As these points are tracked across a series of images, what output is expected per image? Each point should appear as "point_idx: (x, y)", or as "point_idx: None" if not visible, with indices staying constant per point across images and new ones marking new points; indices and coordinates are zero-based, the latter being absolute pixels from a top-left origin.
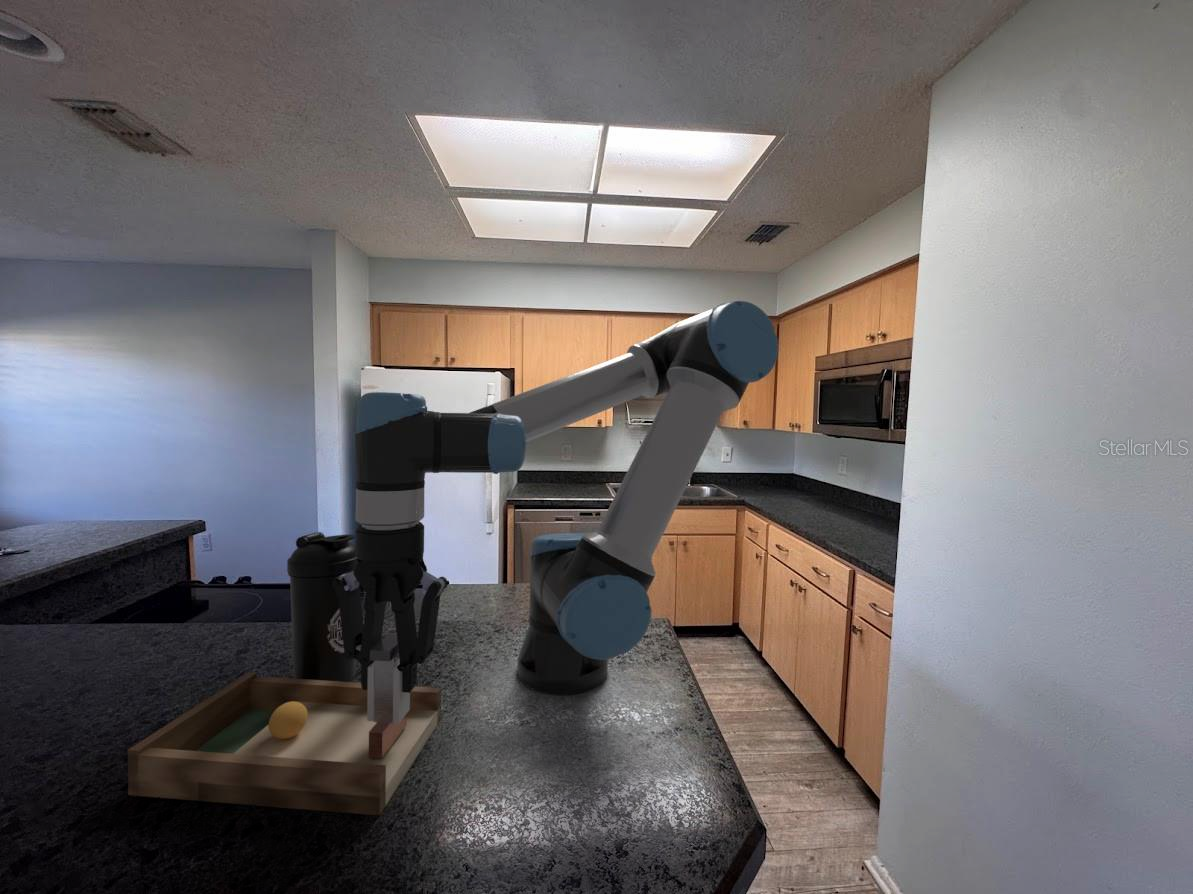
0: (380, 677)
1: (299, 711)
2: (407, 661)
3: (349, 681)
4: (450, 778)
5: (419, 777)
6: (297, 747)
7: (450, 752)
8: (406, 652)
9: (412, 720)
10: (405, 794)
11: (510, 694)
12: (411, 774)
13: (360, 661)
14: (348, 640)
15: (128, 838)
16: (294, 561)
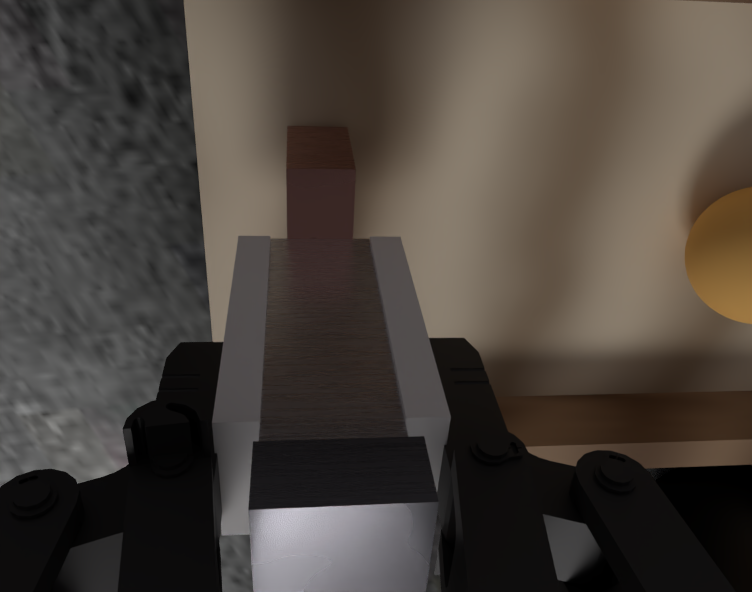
0: (354, 378)
1: (735, 273)
2: (144, 473)
3: None
4: (13, 118)
5: (142, 114)
6: (663, 167)
7: (94, 247)
8: (142, 533)
9: None
10: (146, 22)
11: None
12: (182, 126)
13: (515, 445)
14: (672, 572)
15: None
16: None
